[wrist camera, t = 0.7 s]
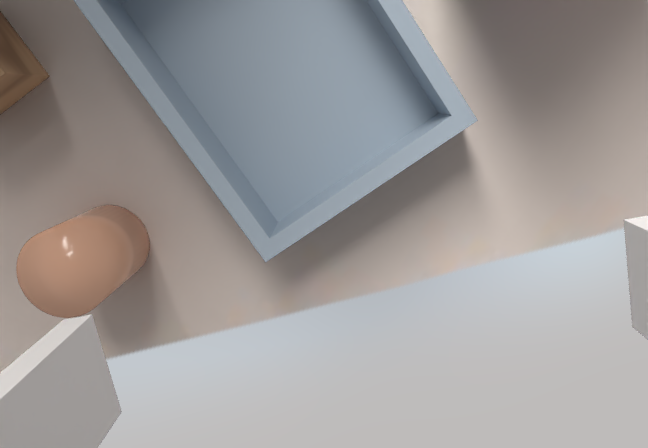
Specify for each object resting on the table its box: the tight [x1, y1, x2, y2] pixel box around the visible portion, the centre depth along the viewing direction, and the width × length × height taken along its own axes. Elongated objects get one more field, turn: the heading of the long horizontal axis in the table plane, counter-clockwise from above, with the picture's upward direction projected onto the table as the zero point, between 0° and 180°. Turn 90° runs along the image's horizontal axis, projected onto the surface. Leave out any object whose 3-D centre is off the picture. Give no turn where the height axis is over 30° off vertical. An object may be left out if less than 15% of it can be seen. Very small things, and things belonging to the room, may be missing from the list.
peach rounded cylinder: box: [17, 205, 150, 318], centre depth 35 cm, size 5×5×7 cm
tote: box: [74, 0, 478, 262], centre depth 33 cm, size 18×14×5 cm
